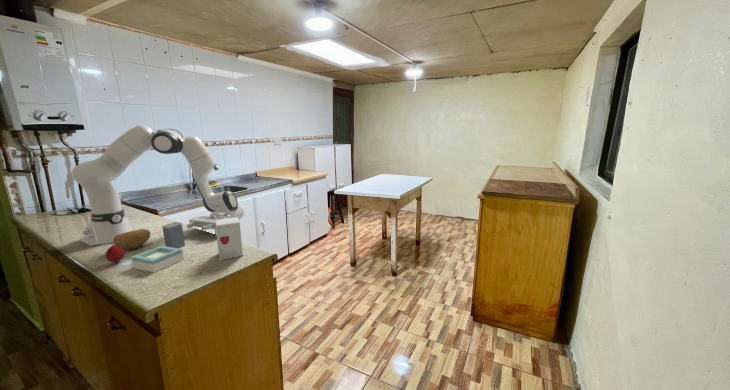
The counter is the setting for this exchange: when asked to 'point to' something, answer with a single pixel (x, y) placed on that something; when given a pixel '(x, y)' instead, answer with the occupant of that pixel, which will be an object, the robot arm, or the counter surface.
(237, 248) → the supplement box
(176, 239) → the blue-grey box
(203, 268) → the counter surface
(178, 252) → the display stand
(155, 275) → the counter surface
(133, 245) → the potato
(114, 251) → the onion
